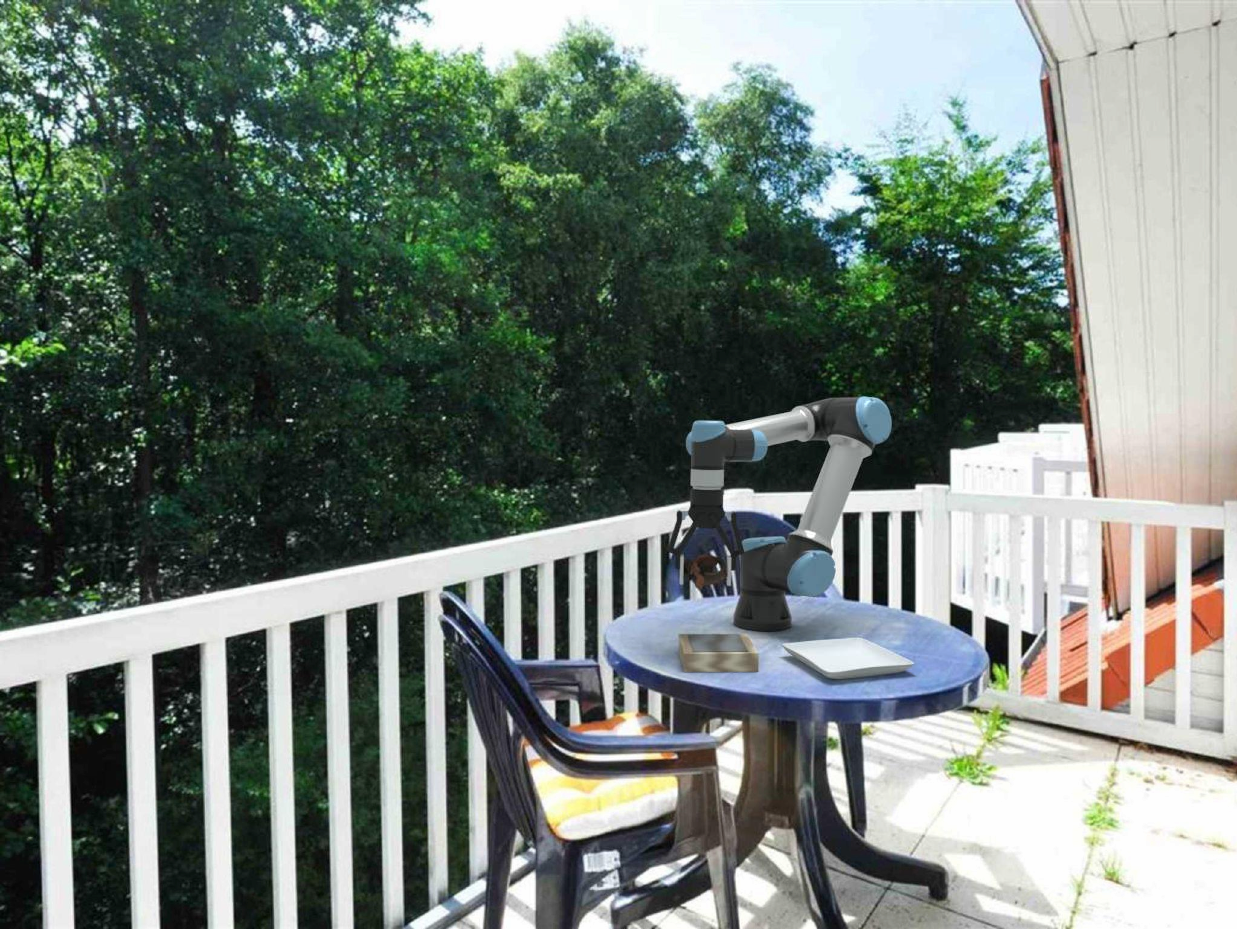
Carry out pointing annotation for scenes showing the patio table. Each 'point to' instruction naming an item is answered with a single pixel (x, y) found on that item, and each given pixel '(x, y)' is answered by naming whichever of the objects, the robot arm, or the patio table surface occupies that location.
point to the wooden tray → (717, 653)
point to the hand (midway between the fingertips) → (704, 584)
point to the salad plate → (847, 658)
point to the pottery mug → (704, 570)
